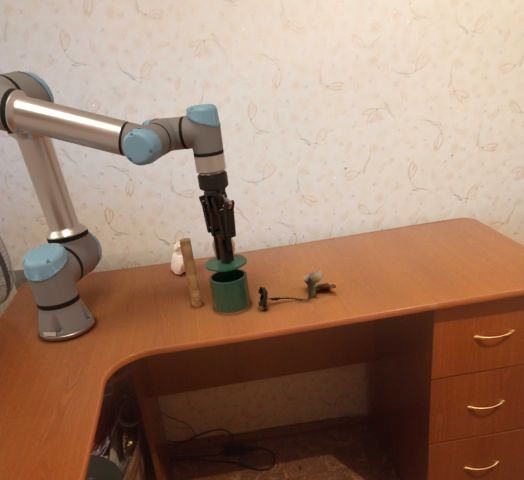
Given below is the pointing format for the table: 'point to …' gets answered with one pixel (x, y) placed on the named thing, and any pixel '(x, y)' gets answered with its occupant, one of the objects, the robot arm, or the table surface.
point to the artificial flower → (310, 281)
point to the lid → (219, 264)
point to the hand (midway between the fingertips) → (225, 260)
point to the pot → (230, 291)
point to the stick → (190, 271)
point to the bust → (177, 260)
